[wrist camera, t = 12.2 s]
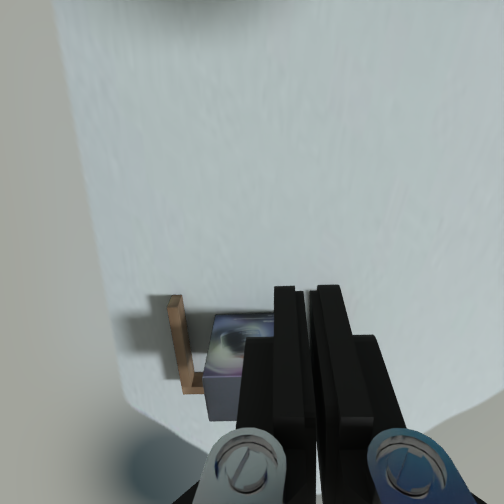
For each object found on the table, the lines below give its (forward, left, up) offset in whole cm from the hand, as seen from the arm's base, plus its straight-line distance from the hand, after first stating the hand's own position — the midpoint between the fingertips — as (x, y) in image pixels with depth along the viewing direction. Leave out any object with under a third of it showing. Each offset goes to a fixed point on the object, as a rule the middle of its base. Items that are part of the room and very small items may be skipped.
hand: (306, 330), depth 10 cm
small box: (+3, +23, -29) cm, 37 cm away
